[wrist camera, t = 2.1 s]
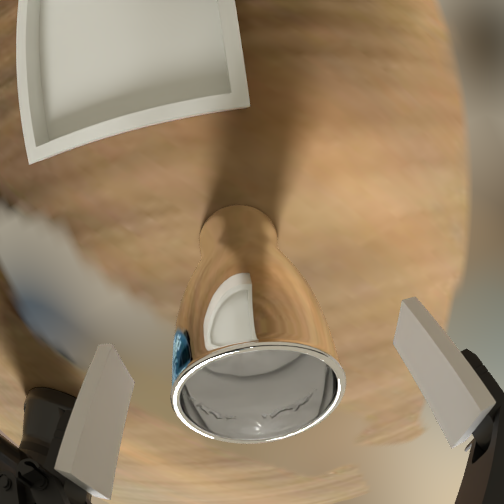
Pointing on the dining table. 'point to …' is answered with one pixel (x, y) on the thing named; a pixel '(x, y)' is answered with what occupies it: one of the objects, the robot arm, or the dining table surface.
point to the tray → (122, 67)
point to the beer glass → (251, 338)
